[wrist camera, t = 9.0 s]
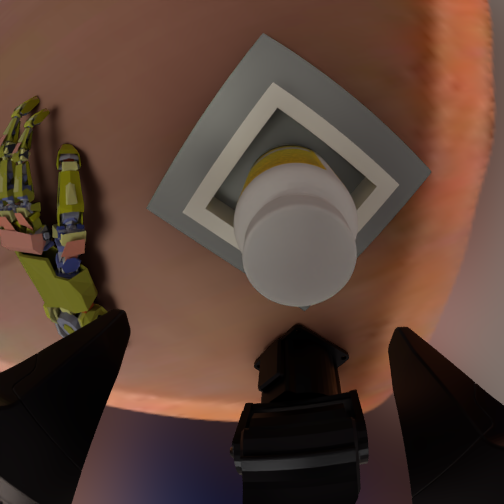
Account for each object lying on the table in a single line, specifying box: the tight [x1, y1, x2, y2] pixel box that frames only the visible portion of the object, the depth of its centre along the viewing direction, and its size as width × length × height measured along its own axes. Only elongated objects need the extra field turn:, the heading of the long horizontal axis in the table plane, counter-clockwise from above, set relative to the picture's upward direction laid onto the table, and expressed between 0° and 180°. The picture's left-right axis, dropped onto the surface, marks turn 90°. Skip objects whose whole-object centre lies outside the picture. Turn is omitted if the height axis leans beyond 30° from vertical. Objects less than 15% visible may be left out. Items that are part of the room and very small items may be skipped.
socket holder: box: [146, 33, 431, 311], centre depth 18 cm, size 14×14×4 cm
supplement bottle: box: [234, 144, 358, 307], centre depth 15 cm, size 5×5×10 cm
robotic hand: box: [0, 96, 107, 338], centre depth 22 cm, size 12×7×25 cm
